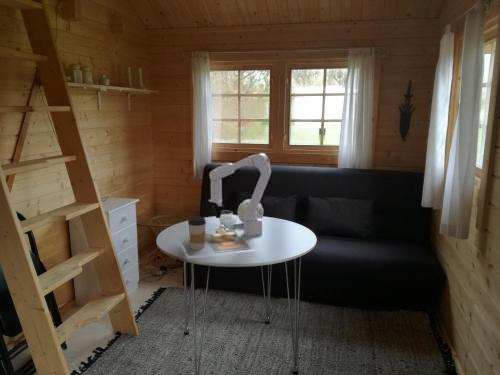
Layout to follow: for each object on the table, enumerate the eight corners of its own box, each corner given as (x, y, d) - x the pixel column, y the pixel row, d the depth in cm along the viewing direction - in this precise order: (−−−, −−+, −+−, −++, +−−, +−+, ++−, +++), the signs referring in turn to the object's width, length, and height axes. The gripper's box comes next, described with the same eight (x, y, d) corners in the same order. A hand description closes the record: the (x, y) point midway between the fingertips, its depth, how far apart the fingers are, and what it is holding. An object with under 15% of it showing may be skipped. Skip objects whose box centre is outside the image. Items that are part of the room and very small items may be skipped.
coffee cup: (203, 252, 186) (202, 221, 184) (186, 251, 188) (185, 220, 185) (208, 246, 195) (208, 216, 192) (192, 245, 196) (191, 215, 193)
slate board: (234, 233, 215) (234, 231, 215) (250, 249, 191) (250, 247, 191) (202, 237, 210) (201, 235, 209) (214, 253, 185) (214, 251, 185)
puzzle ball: (240, 229, 224) (240, 202, 222) (235, 222, 239) (235, 197, 236) (266, 227, 228) (266, 201, 225) (259, 220, 242) (259, 196, 240)
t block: (230, 233, 213) (230, 227, 213) (236, 239, 202) (236, 233, 202) (208, 235, 209) (207, 229, 209) (213, 242, 198) (213, 236, 198)
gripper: (205, 189, 217) (206, 213, 220) (212, 194, 204) (212, 220, 206) (218, 188, 220) (218, 212, 222) (225, 193, 206) (225, 219, 209)
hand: (216, 216), depth 214 cm, fingers open, 6 cm apart
